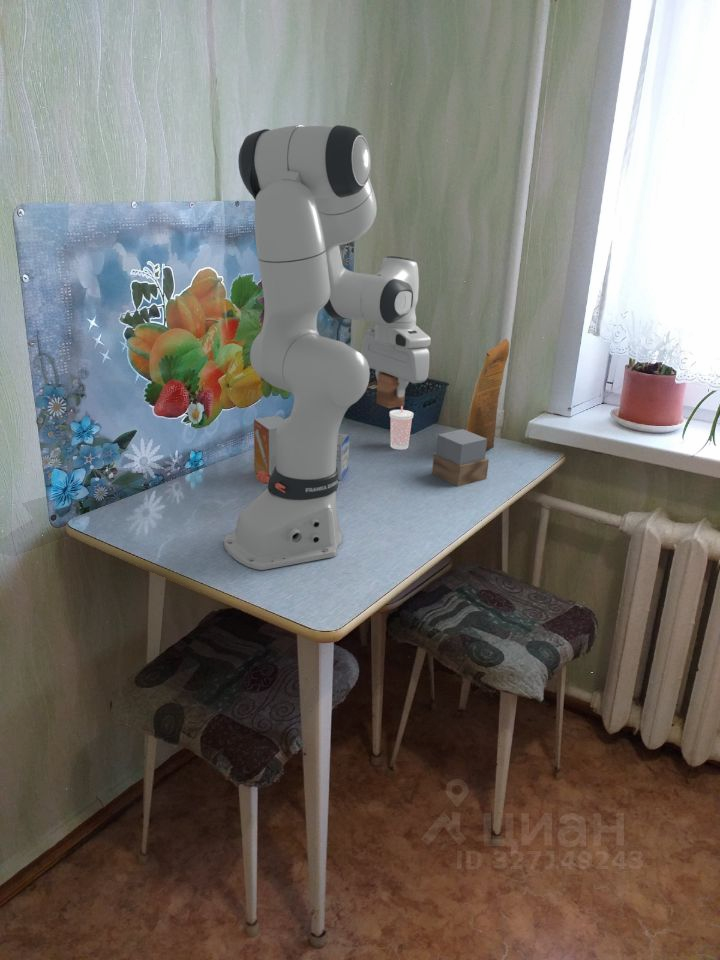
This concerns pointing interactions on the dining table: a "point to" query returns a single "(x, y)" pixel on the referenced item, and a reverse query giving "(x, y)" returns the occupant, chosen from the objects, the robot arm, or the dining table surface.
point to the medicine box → (342, 455)
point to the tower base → (459, 471)
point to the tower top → (461, 447)
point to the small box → (265, 443)
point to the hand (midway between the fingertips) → (390, 393)
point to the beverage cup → (400, 428)
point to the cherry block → (388, 391)
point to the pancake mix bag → (488, 394)
